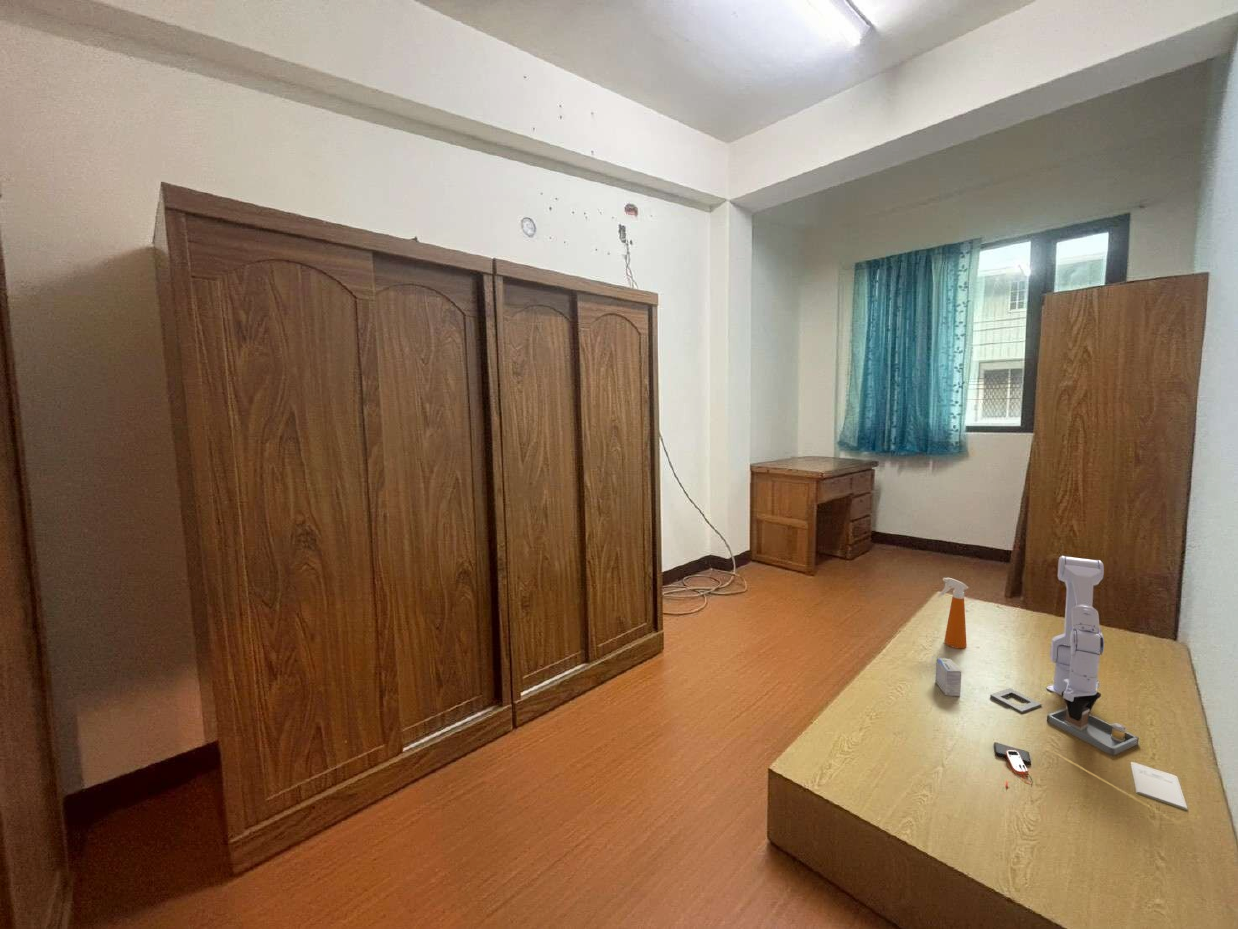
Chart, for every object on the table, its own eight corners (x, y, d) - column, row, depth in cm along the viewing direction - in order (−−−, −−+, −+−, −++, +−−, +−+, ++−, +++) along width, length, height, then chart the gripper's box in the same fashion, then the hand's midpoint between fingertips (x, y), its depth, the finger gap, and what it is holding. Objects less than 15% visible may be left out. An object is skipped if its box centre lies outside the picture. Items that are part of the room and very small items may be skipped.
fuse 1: (1071, 719, 146) (1073, 701, 145) (1087, 726, 142) (1089, 709, 141) (1064, 723, 144) (1066, 705, 143) (1080, 730, 141) (1082, 712, 140)
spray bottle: (930, 638, 195) (934, 574, 191) (960, 639, 193) (964, 574, 189) (939, 648, 188) (943, 581, 184) (970, 649, 186) (975, 581, 182)
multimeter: (1056, 810, 116) (1058, 797, 116) (992, 787, 123) (993, 774, 123) (1051, 764, 130) (1052, 752, 130) (993, 746, 138) (994, 734, 137)
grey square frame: (1009, 691, 160) (1009, 688, 160) (1041, 707, 152) (1041, 704, 152) (990, 698, 157) (990, 694, 157) (1021, 715, 149) (1021, 711, 149)
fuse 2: (1114, 735, 138) (1115, 722, 138) (1126, 741, 136) (1128, 727, 135) (1108, 737, 138) (1110, 724, 137) (1120, 743, 135) (1122, 730, 135)
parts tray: (1071, 713, 149) (1071, 705, 149) (1137, 746, 135) (1138, 737, 135) (1046, 722, 145) (1047, 715, 145) (1112, 757, 131) (1113, 749, 131)
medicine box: (960, 697, 158) (962, 671, 157) (944, 695, 159) (946, 670, 158) (949, 682, 166) (951, 658, 165) (934, 681, 167) (936, 657, 166)
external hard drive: (1135, 797, 119) (1129, 766, 129) (1187, 814, 114) (1177, 781, 123) (1136, 790, 119) (1130, 760, 128) (1188, 808, 114) (1177, 775, 123)
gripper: (1079, 658, 147) (1075, 701, 149) (1052, 671, 141) (1047, 715, 143) (1110, 670, 141) (1105, 714, 143) (1083, 684, 135) (1078, 730, 137)
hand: (1078, 716), depth 142 cm, fingers open, 4 cm apart
